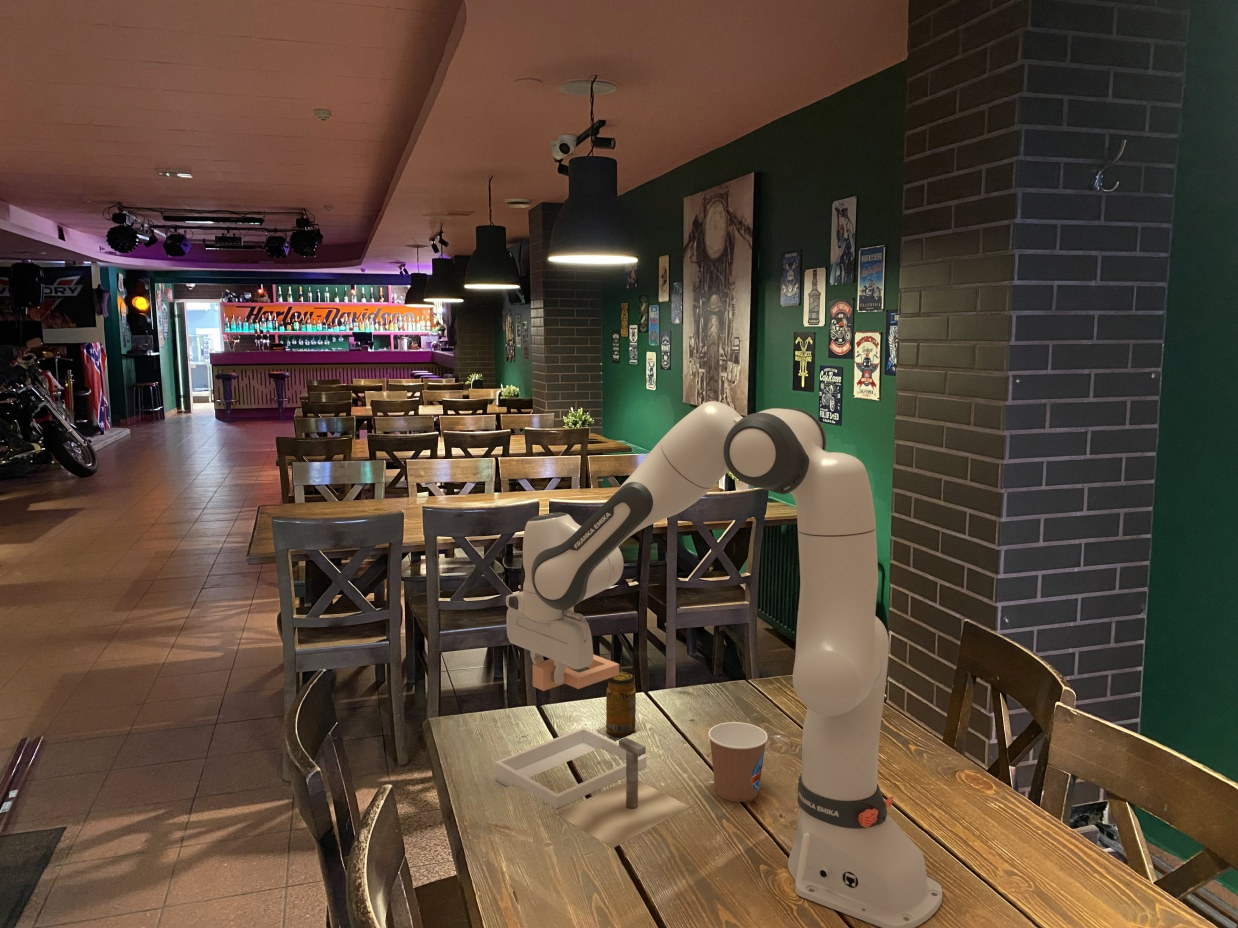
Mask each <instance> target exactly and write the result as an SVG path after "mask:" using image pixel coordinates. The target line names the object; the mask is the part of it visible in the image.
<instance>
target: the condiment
mask: <svg viewBox="0 0 1238 928" xmlns="http://www.w3.org/2000/svg"><path fill="white" fill-rule="evenodd" d="M607 681H608V683H607V686H608V687H607V688H606V695H605V696H606V698H605V700H606V701H605V703H606V704H605V705H606V706H605V708H606V713H605V714H606V715H605V716H606V721H605V723H606V726H605V727H602V728H599V729H597V730H596V731H597V732H599V733H601V734H603V735H604V736H606V737H607V738H610V739H611V740H612V739H613V741H614V740H615V742H617V741H619V740H621V739H623V738H628V737H629V736H631V735H634V734H636V733H638V732H641V731H642V729H640V728H638V727H636V721H637V720H636V719H637V717H636V712H637V711H636V710H637V709H636V706H637V705H636V702H637V698H636V695H637V693H636V692H637V691H636V688H635V683H634V682H635V677H634V675H633V674H631V673H628V672H625V671H624V672H623V671H619V675H617V676H614V677H611V678H608V679H607Z"/></svg>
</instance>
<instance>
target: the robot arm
mask: <svg viewBox="0 0 1238 928" xmlns="http://www.w3.org/2000/svg"><path fill="white" fill-rule="evenodd" d="M826 449H827V435H826V430H825V428H824V426H823V424H822V422H821V421H820V420H819V419H818V418H817V417H816V416H815V415H813V414H812V413H810V412H808V411H806V410H804V409H800V408H797V407H795V408H794V407H786V408H767V409H764V410H761V411H758V412H754V413H750V414H748V415H745V416H744V417H743V416H742V415H740V414H739V412H737V411H736V410H735V409H734V408H733V407H731V406H730V405H728V404H726V403H723V402H720V401H715V400H714V401H711V400H710V401H707V402H703V403H702V404H700V405H699V406H697V407H696V408H694V409H693V410H692V411H691V412H689V413H688V414H686V415H685V416H684V417H683V418H682V419H680V420H679V421H678V422H677V423H676V424H675V425H674V426H673V427H672V428H671V429H669V430H668V431H667V433H666V434H664V436H663V437H662V438H661V439H660V440H659V442H657V444H656V445H655V446H654V447H653V448H652V449H651V450H650V452H649V453H648V454H646V456H645V457H644V458H643V460H642V461H641V462H640V464H639V465H637V467H636V468H635V469H634V471H633V472H632V473H631V474H630V475H629V477H628V478H627V479H626V480H625V481H624V482H623V483H622V484H621V485H620V487H618V489H617V490H616V491H615V493H614V494H612V495H611V496H610V498H608V499H607V500H606V502H604V503H603V505H601V506H600V507H599V508H598V509H597V510H596V511H595V512H594V513H593V514H592V515H591V516H590V517H589V518H588V519H587V520H586V521H585V522H584V523H583V524H582V525H580V524H579V523H577V522H576V521H575V520H574V519H573V517H572V516H571V515H570V514H568V513H566V512H564V511H563V512H562V511H559V512H557V511H555V512H549V513H548V512H547V513H545V514H539V515H536V516H533V517H531V518H530V519H529V520H528V521H526V523H525V524H526V525H525V526H524V527H525V528H524V530H523V531H524V532H523V541H522V567H523V569H524V575H525V577H524V581H523V586H522V591H518V592H516V593H512V594H508V595H506V598H505V604H506V607H507V608H508V609H507V611H506V634H507V635H506V637H507V638H508V641H509V642H510V644H512V645H515V646H518V647H520V648H523V649H525V650H528V651H530V653H529V654H530V657H531V661H532V663H533V664H536V663H539V662H542V661H545V660H544V658H548V660H549V659H552V660H554V665H555V666H556V669H555V671H554V672H552V673H551V681H552V682H554V683H556V684H560V683H562V682H563V681H564V672H565V670H566V668H567V666H569V667H572V668H573V669H574V670H581V669H583V668H588V667H587V666H589V665H590V664H591V663H592V661H593V654H594V648H593V637H592V632H591V629H590V625H589V622H588V621H587V620H586V618H585V617H584V615H583V614H582V613H579V612H578V613H577V612H574V609H575V608H574V607H575V606H576V605H577V604H579V603H581V602H582V601H585V600H586V599H589V598H591V597H593V596H595V595H597V594H600V593H602V592H603V591H605V590H608V588H611V587H612V586H615V585H616V584H617V583H618V582H619V581H620V580H621V578H622V576H623V573H624V569H625V561H624V556H623V555H624V554H623V553H622V550H621V548H620V546H621V545H622V544H623V542H625V541H626V540H627V539H628V538H630V537H631V536H633V535H634V534H636V533H637V532H639V531H641V530H643V529H644V528H647V527H648V526H651V525H653V524H656V523H657V522H660V521H663V520H667V519H668V518H671V517H673V516H675V515H678V514H679V513H682V512H683V511H685V510H686V509H689V507H691V506H692V505H694V504H695V503H697V502H698V501H700V500H701V499H702V498H703V497H704V496H706V495H707V494H708V493H709V492H710V491H711V489H712V488H713V487H715V485H716V484H718V483H719V481H720V480H721V479H722V478H723V477H724V476H725V475H727V473H728V472H730V473H731V475H732V476H733V477H735V478H736V479H738V480H739V482H740V481H741V483H743V484H747V485H749V486H751V487H755V488H759V489H763V490H765V491H766V490H767V491H769V492H773V493H776V494H778V495H787V494H790V495H792V497H793V499H794V503H795V507H796V517H797V519H796V520H797V521H796V522H797V539H798V540H797V541H798V558H799V559H798V560H799V577H800V579H799V581H800V582H799V583H800V587H799V599H798V609H797V618H796V619H797V623H796V637H795V638H796V639H795V641H796V642H795V658H794V664H793V665H794V666H793V669H792V671H793V672H792V686H793V689H794V692H795V694H796V696H797V697H798V699H799V701H801V702H802V704H804V706H805V707H806V714H805V718H804V722H803V727H802V742H801V743H802V744H801V745H802V747H801V749H802V750H801V773H800V774H799V776H798V783H797V784H798V785H797V786H798V787H797V803H798V807H799V808H798V809H799V812H798V817H797V825H796V832H795V838H794V840H793V841H794V842H793V844H792V848H791V852H790V855H789V857H788V859H787V867H788V871H789V873H790V875H791V876H792V878H793V880H794V891H795V894H796V895H797V896H799V897H801V898H804V899H806V900H809V901H811V902H813V903H816V904H819V905H822V906H825V907H827V908H829V909H832V910H834V911H838V912H840V913H843V914H845V915H848V916H849V917H853V918H856V919H859V920H860V921H864V922H865V923H868V924H871V925H874V926H877V927H879V928H916V927H919V926H920V925H922V924H923V923H924V922H926V921H927V920H928V919H930V918H932V917H933V915H935V913H937V911H938V909H940V906H941V905H942V901H943V887H942V885H941V884H940V883H939V882H937V881H936V880H934V879H932V878H931V877H929V876H928V875H927V867H926V861H925V857H924V854H923V852H922V850H921V849H920V847H919V846H917V845H916V844H915V842H914V841H913V840H912V839H911V838H910V837H909V836H908V834H906V832H904V831H903V829H901V827H900V826H899V825H898V824H897V822H896V821H895V820H893V818H892V817H891V816H890V815H889V814H888V808H890V807H891V806H892V805H893V804H894V802H893V799H894V796H890V797H888V798H887V799H886V800H884V797H883V793H882V790H881V787H880V785H879V783H878V772H879V771H878V770H879V769H878V768H879V747H880V736H881V735H880V734H881V727H882V725H881V724H882V719H883V718H882V717H883V712H884V711H883V710H884V703H885V694H886V686H887V685H886V684H887V675H888V664H889V655H890V654H889V653H890V640H889V635H888V631H887V629H886V627H885V625H884V623H883V622H882V620H880V618H879V617H878V616H876V610H877V597H878V596H877V595H878V588H879V567H878V566H879V565H878V563H879V562H878V544H877V525H876V523H877V521H876V511H875V505H874V499H873V493H872V488H871V483H870V479H869V475H868V472H867V469H866V466H865V465H864V463H863V462H862V461H861V460H860V459H858V458H857V457H856V456H854V455H851V454H848V453H845V452H837V451H835V452H834V451H832V452H831V451H830V452H829V451H827V450H826Z"/></svg>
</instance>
